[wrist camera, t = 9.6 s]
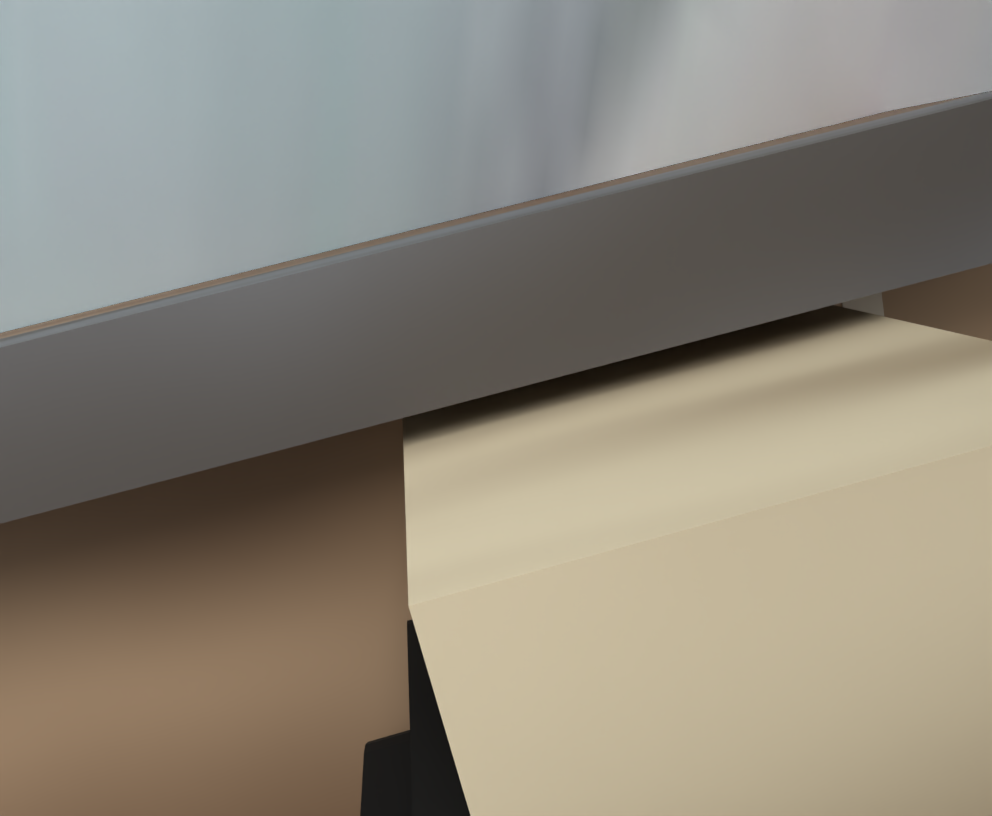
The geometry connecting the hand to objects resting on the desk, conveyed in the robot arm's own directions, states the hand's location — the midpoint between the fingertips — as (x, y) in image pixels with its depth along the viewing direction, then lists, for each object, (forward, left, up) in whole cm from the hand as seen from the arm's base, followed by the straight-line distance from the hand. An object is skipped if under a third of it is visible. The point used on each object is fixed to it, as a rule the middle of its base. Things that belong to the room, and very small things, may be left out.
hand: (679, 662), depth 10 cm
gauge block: (0, 0, 0) cm, 0 cm away
